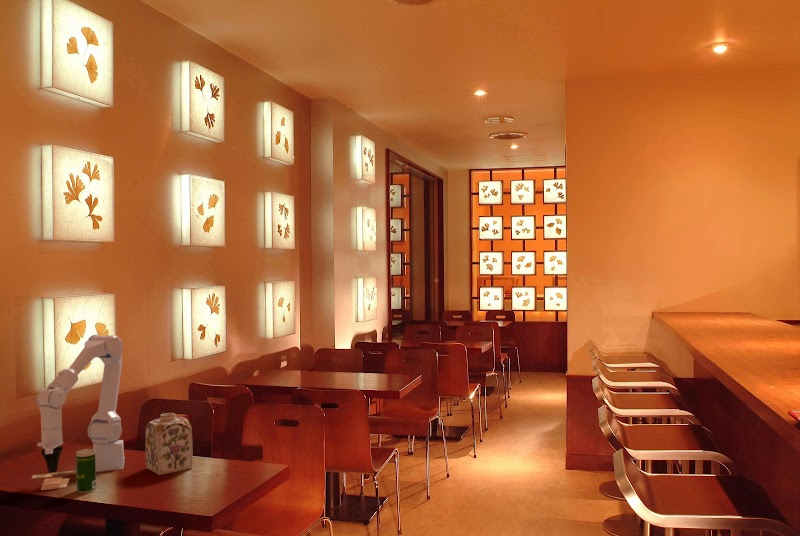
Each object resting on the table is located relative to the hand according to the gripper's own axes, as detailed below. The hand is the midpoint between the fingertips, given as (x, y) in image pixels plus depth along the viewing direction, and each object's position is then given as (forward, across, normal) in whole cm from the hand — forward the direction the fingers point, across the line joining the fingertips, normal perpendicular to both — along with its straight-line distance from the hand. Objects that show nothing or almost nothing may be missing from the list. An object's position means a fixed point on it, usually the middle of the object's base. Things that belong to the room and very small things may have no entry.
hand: (52, 472), depth 220 cm
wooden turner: (+4, -12, -1) cm, 12 cm away
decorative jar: (+4, -6, +34) cm, 35 cm away
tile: (+3, -1, 0) cm, 3 cm away
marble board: (+4, -1, 0) cm, 4 cm away
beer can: (+4, +10, +10) cm, 15 cm away
